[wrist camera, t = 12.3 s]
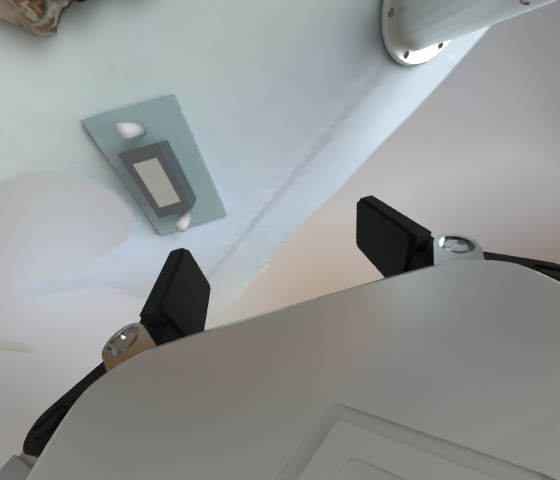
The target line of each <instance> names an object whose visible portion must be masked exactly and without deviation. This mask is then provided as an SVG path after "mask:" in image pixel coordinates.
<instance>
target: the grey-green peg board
mask: <svg viewBox="0 0 560 480" xmlns="http://www.w3.org/2000/svg"><path fill="white" fill-rule="evenodd" d="M81 122H82V123H83V125H84V126H85V127H86V129H87V130H88V132H89V133H90V135H91V136H92V138H93V139H94V140H95V142H96V143H97V145H98V146H99V148H100V149H101V151H102V152H103V153H104V155H105V156H106V158H107V159H108V161H109V162H110V164H111V165H112V166H113V168H114V169H115V171H116V172H117V174H118V175H119V177H120V178H121V179H122V181H123V182H124V184H125V185H126V187H127V188H128V190H129V191H130V192H131V194H132V195H133V197H134V198H135V200H136V201H137V203H138V204H139V205H140V207H141V208H142V210H143V211H144V213H145V214H146V216H147V217H148V218H149V220H150V221H151V223H152V224H153V226H154V227H155V229H156V230H157V231H158V233H159V234H160V236H165V235H168V234H171V233H174V232H177V231H181V232H183V231H185V230H186V229H187V228H190V227H193V226H196V225H199V224H202V223H205V222H208V221H212V220H215V219H218V218H221V217H224V216H227V213H226V211H225V208H224V206H223V204H222V202H221V199H220V197H219V195H218V192H217V190H216V188H215V186H214V183H213V181H212V179H211V176H210V174H209V172H208V169H207V167H206V165H205V163H204V160H203V158H202V156H201V153H200V151H199V149H198V147H197V144H196V142H195V140H194V137H193V135H192V133H191V130H190V128H189V126H188V124H187V121H186V119H185V117H184V114H183V112H182V110H181V108H180V105H179V103H178V101H177V98H176V96H175V95H171V96H168V97H164V98H161V99H157V100H153V101H150V102H146V103H143V104H139V105H136V106H132V107H128V108H125V109H121V110H118V111H114V112H111V113H107V114H104V115H100V116H96V117H93V118H89V119H86V120H82V121H81ZM165 140H168V142H169V144H170V146H171V148H172V150H173V152H174V154H175V156H176V158H177V160H178V162H179V164H180V166H181V168H182V170H183V172H184V174H185V176H186V178H187V180H188V182H189V184H190V186H191V188H192V190H193V192H194V194H195V196H196V198H197V199H196V201H195V203H194V206H193V208H192V209H189V210H185V211H182V212H179V213H176V214H172V215H169V216H166V217H163V218H158V216H157V215H156V213H155V212H154V210H153V209H152V207H151V206H150V204H149V203H148V201H147V199H146V198H145V196H144V195H143V193H142V192H141V190H140V189H139V187H138V186H137V184H136V183H135V181H134V179H133V178H132V176H131V175H130V173H129V172H128V170H127V169H126V167H125V166H124V164H123V163H122V161H121V159H120V158H119V156H118V155H117V154H119V153H123V152H126V151H129V150H133V149H136V148H140V147H143V146H147V145H151V144H154V143H158V142H161V141H165Z"/></svg>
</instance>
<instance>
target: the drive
mask: <svg viewBox="0 0 560 480" xmlns="http://www.w3.org/2000/svg"><path fill="white" fill-rule="evenodd" d="M117 155H118V156H119V158H120V159H121V161H122V163H123V164H124V166H125V167H126V169H127V170H128V172H129V173H130V175H131V176H132V178H133V179H134V181H135V183H136V184H137V186H138V187H139V189H140V190H141V192H142V193H143V195H144V196H145V198H146V199H147V201H148V203H149V204H150V206H151V207H152V209H153V210H154V212H155V213H156V215H157V216H158V218H163V217H166V216H169V215H172V214H176V213H179V212H182V211H185V210H189V209H192V208H193V206H194V203H195V201H196V199H197V198H196V196H195V194H194V192H193V190H192V188H191V186H190V184H189V182H188V180H187V178H186V176H185V174H184V172H183V170H182V168H181V166H180V164H179V162H178V160H177V158H176V156H175V154H174V152H173V150H172V148H171V146H170V144H169V142H168V140H165V141H161V142H158V143H154V144H151V145H147V146H143V147H140V148H136V149H133V150H129V151H126V152H123V153H119V154H117Z"/></svg>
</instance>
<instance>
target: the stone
mask: <svg viewBox="0 0 560 480" xmlns="http://www.w3.org/2000/svg"><path fill="white" fill-rule="evenodd" d="M83 1H87V0H0V18H1V19H3V20H7V21H8V22H10V23H12V24H14V25H15V26H18V27H22V28H25V29H26V30H28V31H29V32H31V33H32V34H33V35H44V36H47V35H52V34H56V33H57V26H58V24H59V20H60V16H61V14H62V12H63V10H64V9H66V8H69V7H70V5H71V4H72V3H73V2H83Z"/></svg>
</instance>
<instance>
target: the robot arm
mask: <svg viewBox="0 0 560 480" xmlns="http://www.w3.org/2000/svg"><path fill="white" fill-rule="evenodd" d="M554 1H557V0H383V5H382V17H381V24H382V34H383V39H384V43H385V46H386V48H387V51H388V52H389V54H390V55H391V57H392V58H393V59H394V60H395V61H396V62H398V63H400V64H402V65H406V66H414V65H418V64H421V63H425V62H427V61H428V60H430V59H432V58H433V57H435V56H436V55H437V54H438V53H440V51H441V50H442V49H443V48H444V47H445V46H446V45H447V44H448V42H449V41H450V40H452V39H454V38H457V37H460V36H462V35H465V34H468V33H471V32H473V31H476V30H479V29H481V28H484V27H487V26H490V25H492V24H495V23H498V22H500V21H503V20H506V19H508V18H511V17H514V16H517V15H519V14H522V13H525V12H528V11H530V10H533V9H536V8H538V7H541V6H544V5H547V4H549V3H552V2H554ZM356 224H357V225H356V227H357V228H356V243H357V246H358V248H359V249H360V250H361V251H362V252H363V253H364V254H365V256H366V257H367V258H368V259H369V260H370V261H371V262H372V264H373V265H374V266H375V267H376V268H377V269H378V270H379V271H380V272H381V274H383V276H384V277H385V278H383V279H380V280H376V281H373V282H369V283H366V284H363V285H359V286H355V287H352V288H348V289H345V290H341V291H338V292H334V293H331V294H327V295H324V296H321V297H317V298H314V299H310V300H307V301H303V302H300V303H296V304H293V305H289V306H286V307H283V308H279V309H276V310H272V311H269V312H266V313H262V314H259V315H255V316H252V317H249V318H245V319H242V320H239V321H235V322H232V323H228V324H225V325H222V326H218V327H215V328H212V329H209V330H205V331H204V327H205V321H206V315H207V308H208V302H209V296H210V285H209V283H208V281H207V279H206V278H205V276H204V274H203V273H202V271H201V269H200V268H199V266H198V265H197V263H196V261H195V260H194V258H193V256H192V255H191V253H190V251H189V250H185V249H184V248H180V249H177V250H173V251H171V252H170V254H169V256H168V258H167V260H166V262H165V264H164V266H163V268H162V270H161V272H160V274H159V276H158V279H157V281H156V283H155V285H154V287H153V289H152V291H151V293H150V295H149V297H148V299H147V301H146V303H145V305H144V307H143V309H142V312H141V313H140V315H139V316H140V317H141V320H140V322H139V323H133V324H129V325H127V326H125V327H124V328H122V329H120V330H119V331H118V332H117V333H115V334H114V335H113V336H112V337H111V338H110V339H109V341H108V342H107V343H106V345H105V346H104V348H103V351H102V359H103V362H102V363H101V364H100V365H99V366H97V367H96V368H95V369H94V370H93V371H92V372H90V373H89V374H88V375H87V376H86V377H85V378H83V379H82V380H81V381H80V382H79V383H77V384H76V385H75V386H74V387H73V388H72V389H70V390H69V391H68V392H67V393H66V394H65V395H63V396H62V397H61V398H60V399H59V400H58V401H57V402H55V403H54V404H53V405H52V406H51V407H50V408H48V409H47V410H46V411H45V412H44V413H43V414H42V415H41V416H40V417H39V418H38V420H37V421H36V422H35V424H34V425H33V427H32V428H31V429H30V431H29V433H28V434H27V437H26V439H25V441H24V445H23V452H22V453H21V454H20V456H16V455H13V456H12V458H11V459H10V460H9V461H8V462H7V463H6V464H5V465H4V466H3V467H2V468H1V470H0V480H560V265H559V264H556V263H551V262H545V261H540V260H534V259H528V258H521V257H515V256H508V255H502V254H496V253H490V252H483V251H482V248H481V246H480V244H479V243H478V242H476V241H475V240H473V239H471V238H469V237H466V236H463V235H458V234H442V235H439V236H437V237H436V238H433V237H432V236H431V231H429V230H427V229H426V228H424V227H422V226H421V225H419V224H418V223H416V222H414V221H413V220H411V219H409V218H408V217H406V216H404V215H403V214H401V213H400V212H398V211H397V210H395V209H393V208H392V207H390V206H388V205H387V204H385V203H384V202H382V201H380V200H379V199H377V198H375V197H374V196H372V195H371V196H367V197H364V198H361V199H360V201H359V202H357V223H356Z"/></svg>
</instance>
